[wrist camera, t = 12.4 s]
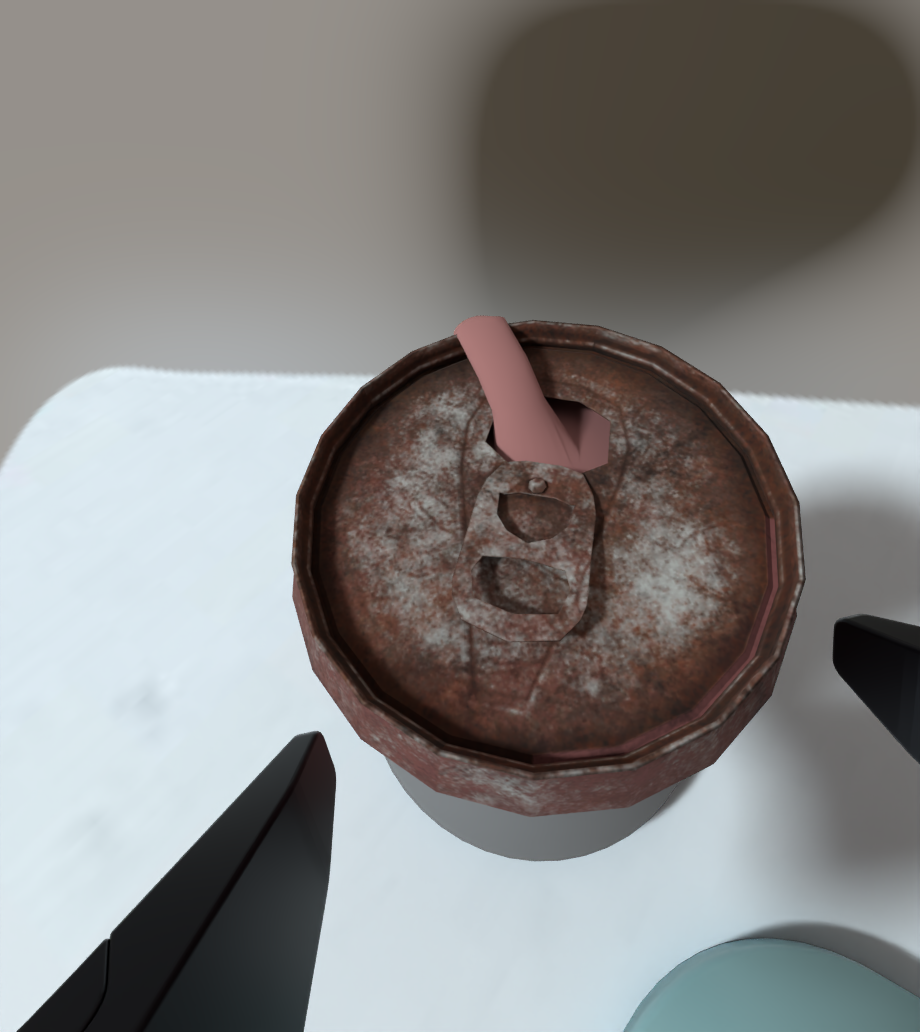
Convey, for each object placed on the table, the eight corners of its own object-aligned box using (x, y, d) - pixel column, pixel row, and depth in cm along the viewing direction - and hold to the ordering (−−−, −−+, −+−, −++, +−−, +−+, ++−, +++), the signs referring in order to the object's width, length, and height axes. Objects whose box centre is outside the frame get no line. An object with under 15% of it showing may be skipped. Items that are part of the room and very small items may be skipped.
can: (549, 568, 19) (623, 230, 7) (635, 728, 17) (1016, 642, 4) (408, 628, 19) (211, 378, 6) (472, 805, 16) (343, 973, 4)
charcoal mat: (719, 589, 20) (731, 579, 19) (639, 930, 15) (649, 943, 14) (451, 494, 23) (448, 481, 22) (319, 755, 18) (307, 755, 17)
